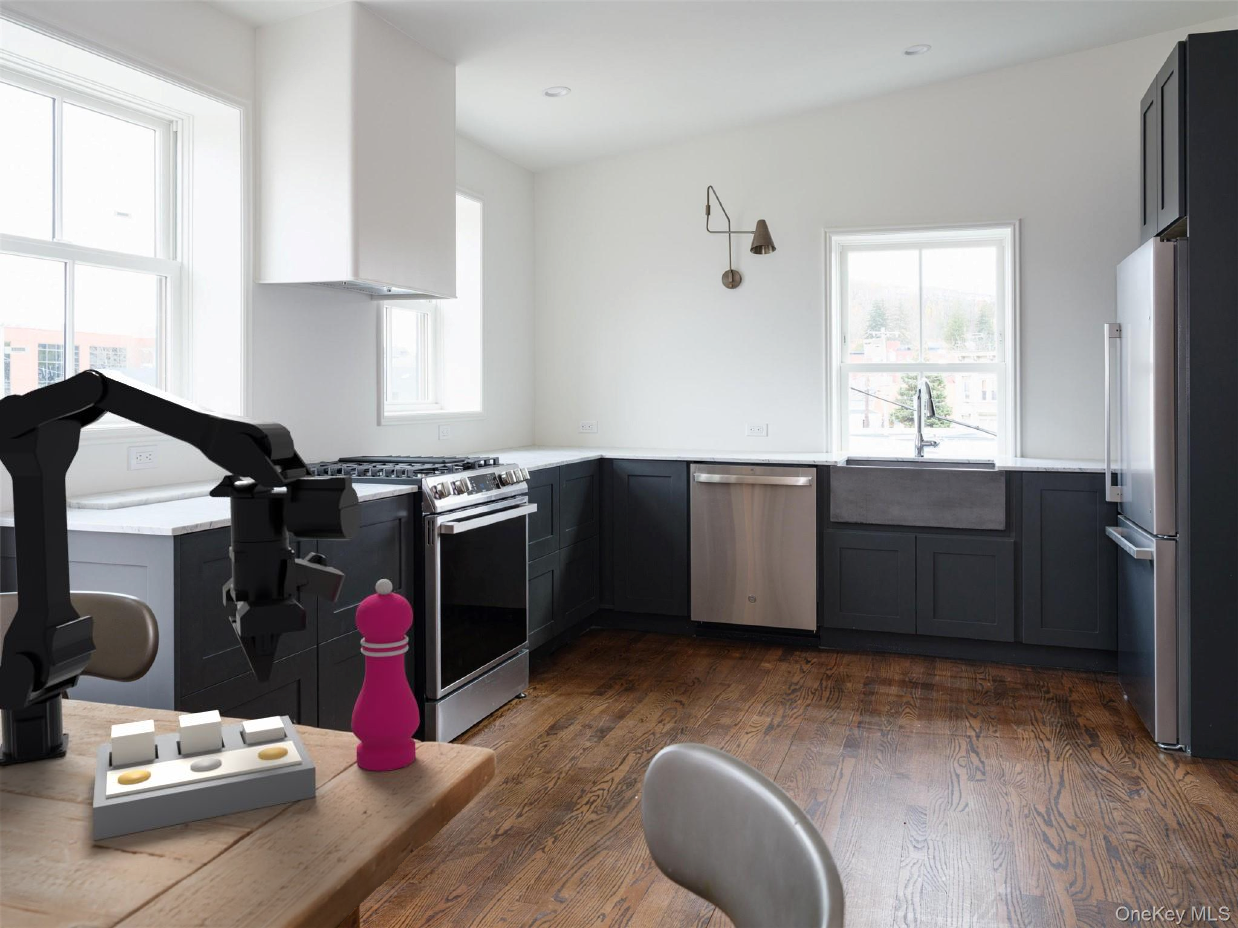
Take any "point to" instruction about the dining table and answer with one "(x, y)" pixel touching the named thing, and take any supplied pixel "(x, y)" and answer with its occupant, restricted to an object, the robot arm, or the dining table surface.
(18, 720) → the robot arm
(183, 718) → the middle button
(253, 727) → the button
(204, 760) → the button panel
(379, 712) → the pepper mill
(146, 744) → the button
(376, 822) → the dining table surface
